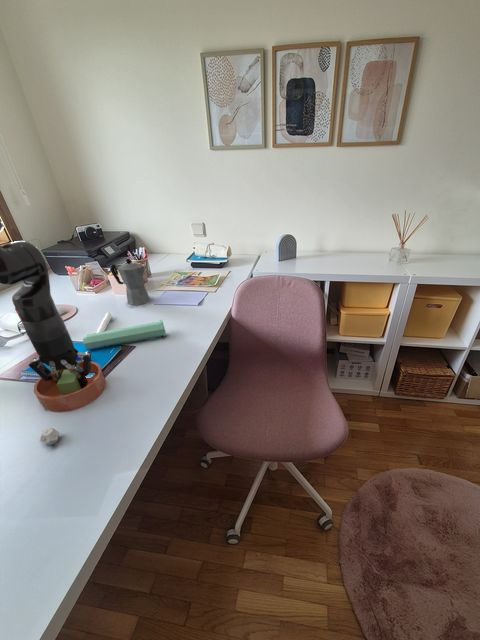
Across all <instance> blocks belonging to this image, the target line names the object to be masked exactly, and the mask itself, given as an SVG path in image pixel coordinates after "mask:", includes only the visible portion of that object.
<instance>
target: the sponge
mask: <svg viewBox="0 0 480 640" xmlns="http://www.w3.org/2000/svg"><path fill="white" fill-rule="evenodd" d="M57 386H58V388H59V390H60V392H61V394H62V396H63V395H67V394H71V393H74V392H76V391H78V390H80V389H81V387H80V385H79V382H78V380H77V377H76V376H75V375H74V374H73V373H71V372H70V371H69V370H64V371H63V373H62V375H61V377H60V379H59V381H58V382H57Z"/></svg>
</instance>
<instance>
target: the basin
mask: <svg viewBox="0 0 480 640" xmlns="http://www.w3.org/2000/svg"><path fill="white" fill-rule="evenodd" d="M77 361H78V362H79V364H80V367H81V368H82V369H83V362H81V360H77ZM64 370H68V369H61V375H62V373H63V371H64ZM89 373H95V375H94V376H93V377H91V378H86V379H87V381H88V383H87V386H86V387H84V388H82V389H80V390H78V391H76V392H74V393H71V394H67V395H63V396H62V394H61V392H60V390H59V389H58V387H57V385H56V383H55V382H54V381H53V380H49V381H45V380H44V379H43V378H42V377H40V376H39V377H38V379H37V380H36V381H35V383H34V384H33V393H34V395H35V397H36V398H37V400H38V402H39V404H40V405H41V407H42V408H43V409H45V410H46V411H49V412H53V413H63V412H64V413H65V412H71V411H73V410H77V409H80V408H82V407H85V406H87V405H88V404H90V403H93V402H94V401H95V400H96V399H97V398H98V397H100V396H101V395H102V394H103V393H104V391H105V390H106V387H107V379H106V377H105V374H104V372H103V369H102V366H101V365H100V364H99V363H97V362H95V361H92V360H91V369H90V371H89Z"/></svg>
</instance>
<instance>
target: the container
mask: <svg viewBox="0 0 480 640" xmlns="http://www.w3.org/2000/svg"><path fill="white" fill-rule="evenodd" d="M166 334H167V333H166V330H165V325H164V321H163V319H159V321H154V322H148V323H144V324H143V323H142V324H137V325H133V326H127V327H120V328H115V329H110V330H105V331H104V332H98V333H96V332H93V333H87V334H85V335H84V336H83V338H82V341H83V345H84V348H85V349H87V350H96V349H99V348H98V347H101V348H104V347H103V346H106V347H110V346H109V345H112V347H113V346H117V345H123V344H128V343H133V342H138V341H145V340H149V339H153V338H159V337H163V338H166V337H167V335H166ZM106 347H105V348H106ZM93 348H95V349H93ZM101 348H100V349H101Z"/></svg>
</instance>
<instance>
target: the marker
mask: <svg viewBox="0 0 480 640" xmlns="http://www.w3.org/2000/svg"><path fill="white" fill-rule="evenodd" d="M112 318H113V315H112V313H111V312H107V313H106V314H105V316H104V318H103V319H102V321H101V323H100V325H99V326H98V329H97V330H96V332H95V333H98V332H104V331H106V329H107V327H108V325H109V323H110V321H111V319H112Z"/></svg>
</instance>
